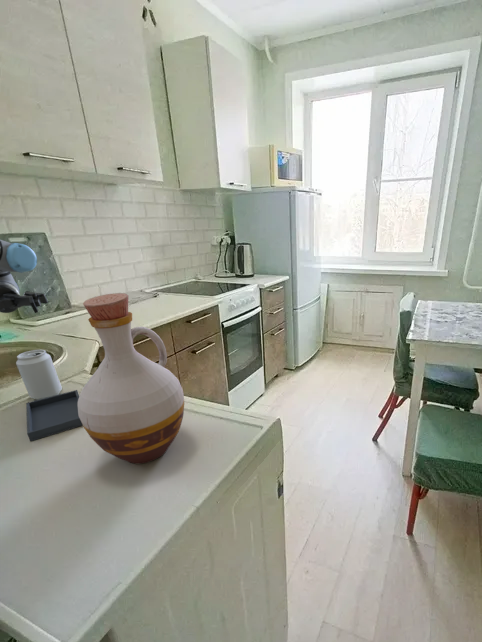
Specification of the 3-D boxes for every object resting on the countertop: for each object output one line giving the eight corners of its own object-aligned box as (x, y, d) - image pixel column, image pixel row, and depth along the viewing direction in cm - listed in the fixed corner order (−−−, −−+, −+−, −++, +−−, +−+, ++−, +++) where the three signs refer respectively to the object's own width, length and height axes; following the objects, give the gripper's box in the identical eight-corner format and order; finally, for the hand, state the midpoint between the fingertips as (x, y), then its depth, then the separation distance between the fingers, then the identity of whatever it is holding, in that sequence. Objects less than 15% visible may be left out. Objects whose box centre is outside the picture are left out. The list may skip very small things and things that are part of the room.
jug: (148, 417, 81) (114, 284, 68) (214, 429, 75) (191, 286, 62) (74, 470, 65) (11, 308, 52) (152, 491, 59) (103, 314, 46)
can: (64, 395, 94) (48, 353, 88) (30, 404, 90) (12, 360, 85) (61, 386, 99) (47, 345, 94) (30, 394, 96) (13, 352, 90)
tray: (89, 423, 80) (86, 416, 79) (30, 441, 74) (27, 433, 73) (79, 396, 93) (77, 389, 92) (29, 410, 87) (26, 402, 86)
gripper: (56, 298, 111) (64, 315, 95) (-41, 322, 99) (-50, 345, 84) (45, 274, 107) (51, 287, 91) (-58, 296, 96) (-70, 315, 80)
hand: (3, 315), depth 88 cm, fingers open, 13 cm apart
